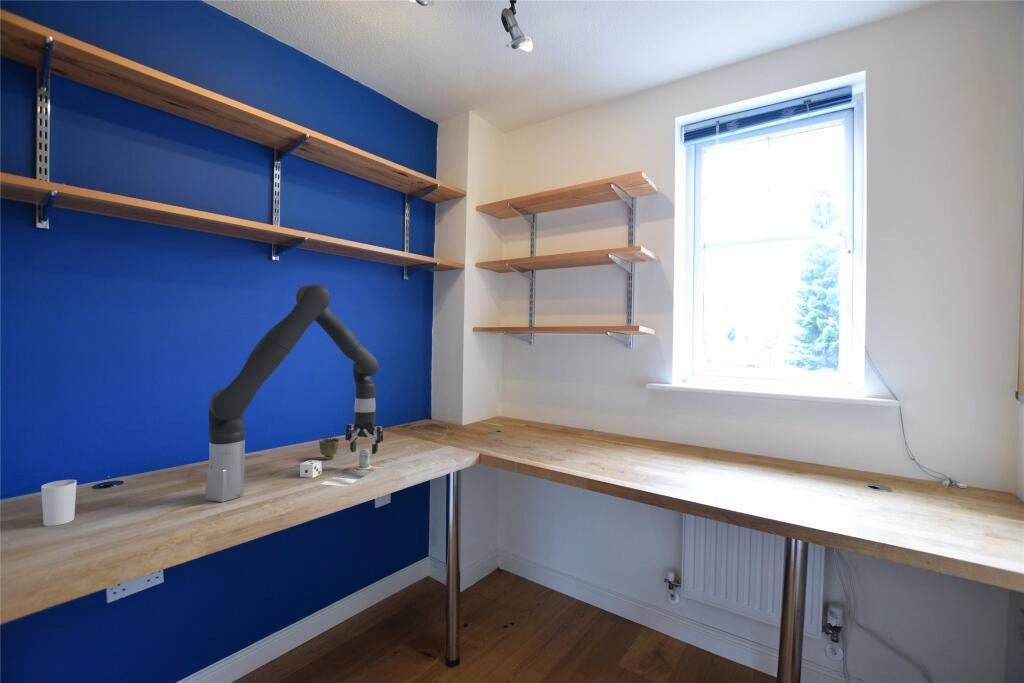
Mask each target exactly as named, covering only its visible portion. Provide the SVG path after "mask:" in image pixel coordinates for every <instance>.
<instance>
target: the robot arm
mask: <svg viewBox="0 0 1024 683" xmlns="http://www.w3.org/2000/svg"><path fill="white" fill-rule="evenodd" d="M295 301H296V304H295V305H294V307H293V309H292V310H291V311H290V312H289V313H288V314H287V315H286V316H285V317H283V319H282V320H280V321H279V322H278V323H276V324H275V325H274V326H272V327H271V329H269V330H268V331H267V332H266V333H265V334H264V335H263V336H262V338H261V339H260V340H259V341H258V343H256V345H255V346H254V347H253V349H252V350H251V352H250V353H249V356H248V357H247V359H246V360H245V363H244V365H243V367H242V369H241V370H240V372H239V373H238V374H237V375H236V377H234V379H233V380H232V381H230V383H229V384H228V385H227V386H226V387H225V388H221V389H218V390H217V391H215V392H214V393H213V394H212V395H211V397H210V399H209V401H208V434H209V445H208V446H209V449H208V450H209V451H208V452H209V453H208V455H209V460H208V462H209V463H208V465H209V466H208V468H206V470H205V474H206V475H205V477H206V478H205V501H211V502H221V503H224V502H227V501H230V500H236V499H238V498H240V497H242V496H244V494H245V449H246V448H245V446H246V445H245V441H246V440H245V439H246V431H245V425H244V413H245V411H247V409H248V407H249V406H250V404H251V402H252V401H253V399H254V397H255V396H256V394H257V393H258V391H259V390H260V389H261V387H262V385H263V384H264V383H265V382H266V381H267V380H268V379H269V378H270V377H271V375H273V373H274V372H275V371H276V370H277V369H278V367H279V366H280V365H281V364H282V363H283V361H284V360H285V359H286V358H287V357H288V356H289V354H290V353H291V351H292V350H293V349H294V347H295V346H296V344H297V343H298V342H299V340H300V339H301V338H302V337H303V335H304V333H305V332H306V330H307V329H308V328H309V327H310V325H312V324H313V323H314V321H315V322H316V323H317V324H318V325H319V326H320V328H322V329H323V330H324V332H325V333H326V334H327V335H328V337H329V338H330V339H331V340H332V341H333V342H334V344H335V345H336V346H337V348H338V349H339V350H340V351H341V352H342V354H343V355H344V356H345V357H346V358H347V359H349V360H351V361H353V366H352V373H353V379H354V383H355V401H354V410H353V412H354V414H353V415H354V416H353V417H354V420H353V422H354V424H353V423H349V424H346V426H345V441H347V442H348V441H349V447H350V448H349V449H350V452H351V453H356V452H357V439H358V438H368V439H369V440H370V442H372V444H371V455H375V454H377V453H378V451H379V444H380V443H382V442H384V427H383V425H379V426H377V425H375V424H376V409H377V407H376V406H377V405H376V384H375V383H374V382H373V381H372V376H375V375H377V373H378V372H379V370H380V365H379V361H378V360H377V358H376V356H374V355H373V354H372V353H371V352H370V351H369V350H368V349H367V348H365V347H364V346H363V345H362V343H361V342H360V340H359V339H358V338H357V337H356V336H355V334H354V333H353V332H352V330H351V329H349V328H348V326H346V325H345V324H344V322H342V321H341V320H339V318H338V317H336V316H335V314H334V313H333V312H332V311H331V309H330V308H329V305H330V302H331V294H330V292H329V289H327V288H326V287H325V286H323V285H319V284H308V285H307V284H305V285H303V286H301V287H299V289H298V290H297V291H296V294H295ZM353 430H354V431H355V432H354V433H353Z"/></svg>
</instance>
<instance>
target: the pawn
mask: <svg viewBox="0 0 1024 683" xmlns="http://www.w3.org/2000/svg"><path fill="white" fill-rule="evenodd" d="M358 456H359V458H358V464H359V466H357V470H369V469H371V465H370V451H369V450H368V449H367V448H362V449H361V450H360V452H359V455H358Z"/></svg>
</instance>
